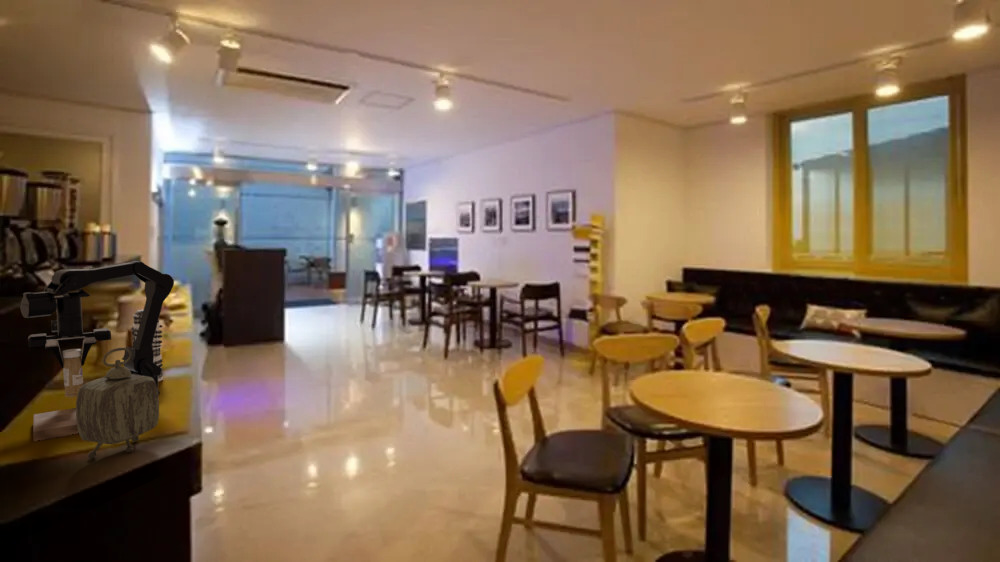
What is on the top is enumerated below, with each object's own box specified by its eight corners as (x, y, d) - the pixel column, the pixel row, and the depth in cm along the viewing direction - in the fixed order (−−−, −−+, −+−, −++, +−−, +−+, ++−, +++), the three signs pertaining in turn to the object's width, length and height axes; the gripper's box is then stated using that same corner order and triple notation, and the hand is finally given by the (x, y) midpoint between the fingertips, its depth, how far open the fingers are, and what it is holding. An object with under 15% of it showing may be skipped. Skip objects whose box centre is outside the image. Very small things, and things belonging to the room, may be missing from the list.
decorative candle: (142, 377, 196) (139, 308, 194) (169, 376, 197) (166, 308, 195) (127, 384, 187) (124, 311, 185) (156, 383, 188) (153, 311, 186)
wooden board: (123, 408, 161) (122, 400, 161) (130, 424, 149) (129, 415, 148) (34, 423, 149) (33, 414, 148) (33, 441, 136) (33, 431, 136)
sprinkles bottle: (83, 396, 159) (80, 350, 158) (63, 398, 156) (60, 352, 155) (84, 392, 163) (82, 347, 161) (65, 394, 160) (62, 349, 159)
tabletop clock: (136, 438, 139) (132, 341, 137) (164, 442, 136) (160, 343, 134) (78, 460, 125) (72, 353, 123) (108, 466, 122) (102, 356, 120)
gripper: (107, 307, 169) (109, 357, 171) (27, 312, 158) (31, 365, 159) (110, 312, 161) (112, 364, 162) (26, 317, 149) (29, 373, 151)
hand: (72, 366), depth 159 cm, fingers closed on sprinkles bottle, 4 cm apart
